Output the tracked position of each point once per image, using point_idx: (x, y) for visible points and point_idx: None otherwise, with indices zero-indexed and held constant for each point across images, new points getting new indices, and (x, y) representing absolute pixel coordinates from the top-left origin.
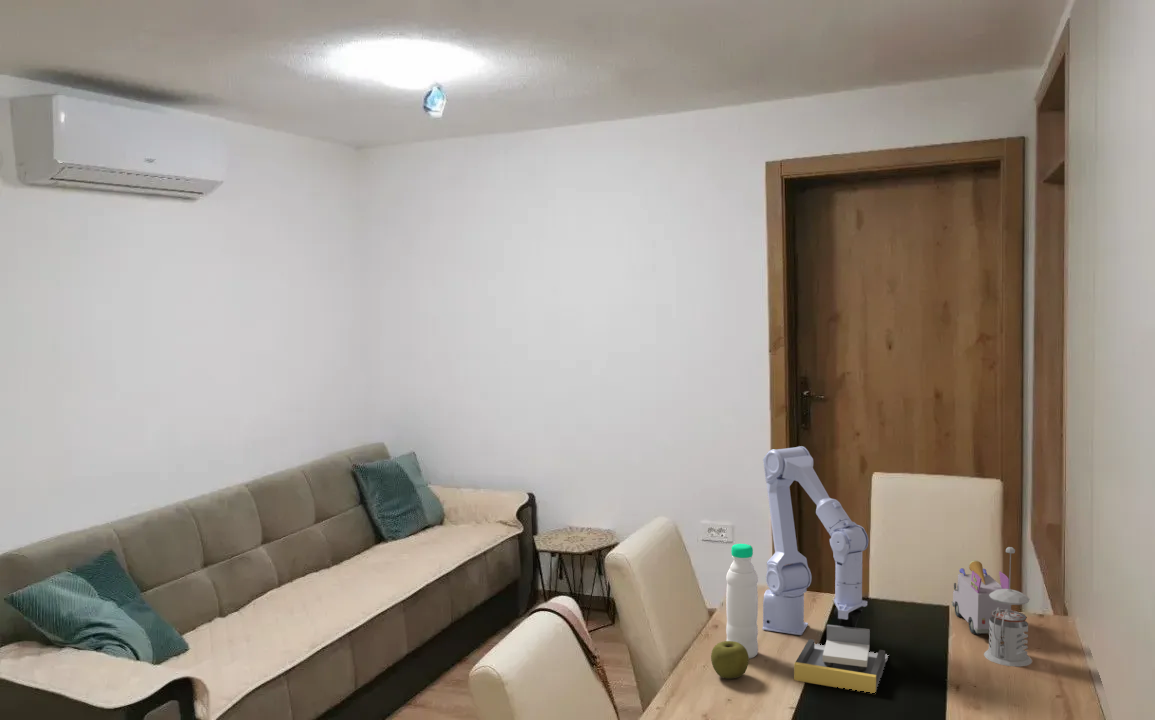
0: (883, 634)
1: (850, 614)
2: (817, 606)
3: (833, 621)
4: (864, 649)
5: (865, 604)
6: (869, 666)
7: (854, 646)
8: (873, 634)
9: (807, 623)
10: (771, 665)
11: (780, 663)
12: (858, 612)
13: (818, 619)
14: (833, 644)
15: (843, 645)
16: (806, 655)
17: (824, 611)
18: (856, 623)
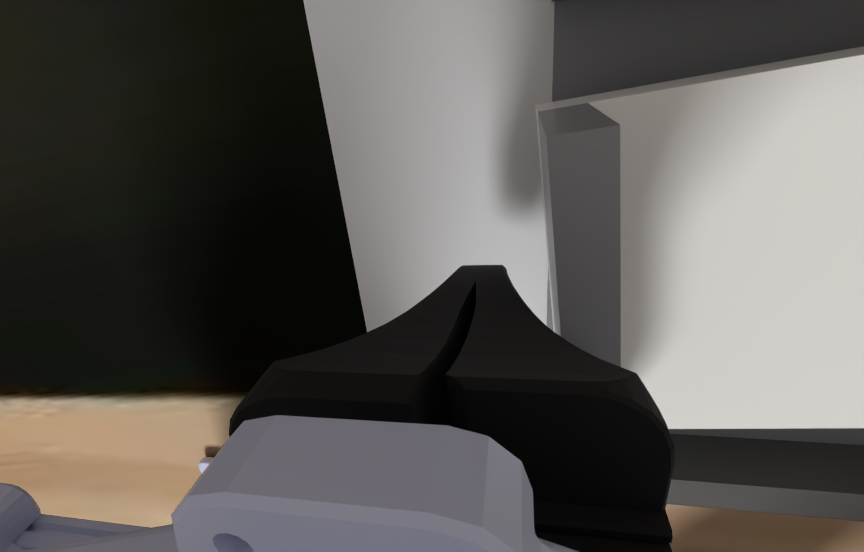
0: (26, 121)
1: (664, 525)
2: (4, 442)
3: (85, 375)
4: (747, 119)
5: (508, 520)
6: (779, 39)
7: (677, 228)
8: (73, 176)
9: (206, 464)
10: (755, 535)
11: (716, 508)
12: (485, 424)
13: (116, 426)
14: (683, 382)
15: (682, 315)
16: (829, 481)
17: (23, 416)
18: (455, 323)
